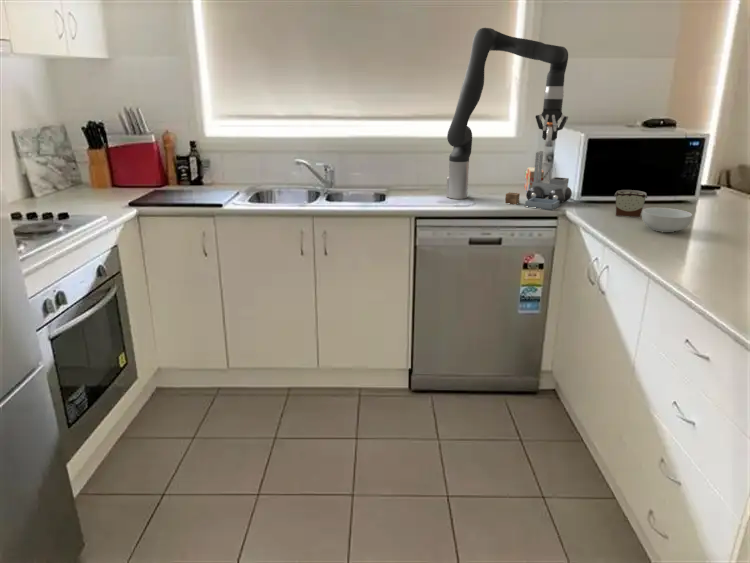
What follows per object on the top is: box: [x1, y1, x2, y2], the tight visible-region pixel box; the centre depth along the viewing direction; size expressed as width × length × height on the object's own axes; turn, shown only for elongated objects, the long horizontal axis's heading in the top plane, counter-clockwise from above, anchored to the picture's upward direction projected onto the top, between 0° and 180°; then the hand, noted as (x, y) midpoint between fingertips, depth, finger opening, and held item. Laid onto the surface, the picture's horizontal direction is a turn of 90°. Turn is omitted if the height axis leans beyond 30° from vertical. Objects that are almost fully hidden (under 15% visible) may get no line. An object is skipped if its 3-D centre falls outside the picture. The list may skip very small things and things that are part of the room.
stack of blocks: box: [523, 166, 545, 192], centre depth 285 cm, size 21×6×12 cm, turn 172°
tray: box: [524, 198, 561, 211], centre depth 255 cm, size 12×9×3 cm
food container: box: [613, 189, 648, 218], centre depth 238 cm, size 12×6×10 cm, turn 71°
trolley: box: [525, 150, 573, 206], centre depth 261 cm, size 17×12×22 cm
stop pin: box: [544, 122, 554, 148], centre depth 246 cm, size 4×4×10 cm
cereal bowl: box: [641, 206, 693, 233], centre depth 215 cm, size 17×17×7 cm
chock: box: [505, 191, 521, 205], centre depth 263 cm, size 5×4×4 cm
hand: (549, 139), depth 247 cm, fingers closed on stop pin, 3 cm apart
